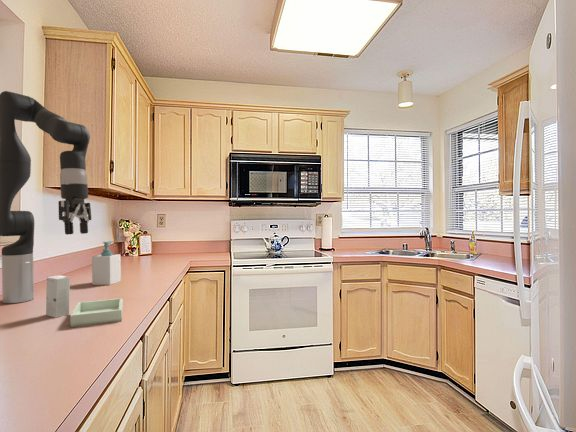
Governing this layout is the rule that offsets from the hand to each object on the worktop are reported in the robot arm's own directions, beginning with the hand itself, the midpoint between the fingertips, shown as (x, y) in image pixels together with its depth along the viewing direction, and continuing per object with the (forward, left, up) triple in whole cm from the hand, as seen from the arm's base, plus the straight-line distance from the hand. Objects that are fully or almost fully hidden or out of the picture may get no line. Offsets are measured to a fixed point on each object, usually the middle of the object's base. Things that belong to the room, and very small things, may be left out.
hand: (77, 233), depth 113 cm
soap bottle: (-50, +6, -26) cm, 57 cm away
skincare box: (0, -5, -26) cm, 26 cm away
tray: (+8, +7, -26) cm, 28 cm away
